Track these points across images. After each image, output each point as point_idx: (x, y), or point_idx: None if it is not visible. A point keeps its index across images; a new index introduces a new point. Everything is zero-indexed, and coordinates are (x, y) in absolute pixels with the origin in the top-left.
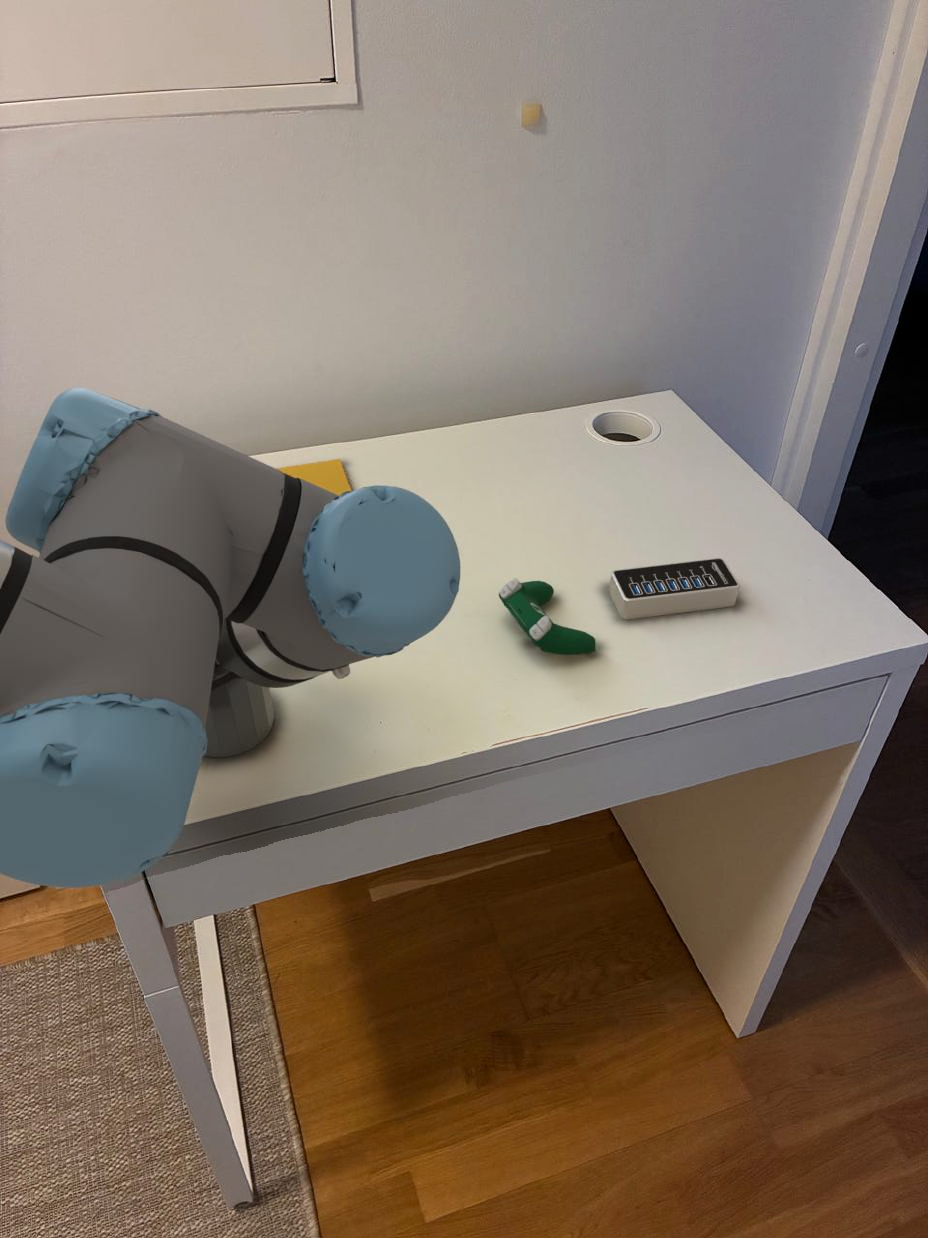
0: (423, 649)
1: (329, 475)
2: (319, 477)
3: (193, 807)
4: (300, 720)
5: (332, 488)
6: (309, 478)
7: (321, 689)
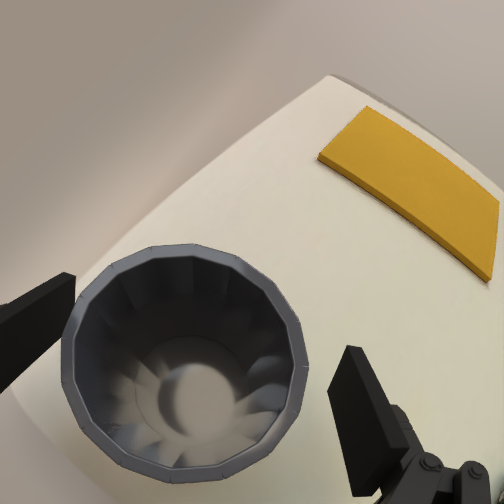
0: None
1: (488, 206)
2: (482, 201)
3: (70, 443)
4: (256, 466)
5: (486, 219)
6: (475, 195)
7: (315, 446)
